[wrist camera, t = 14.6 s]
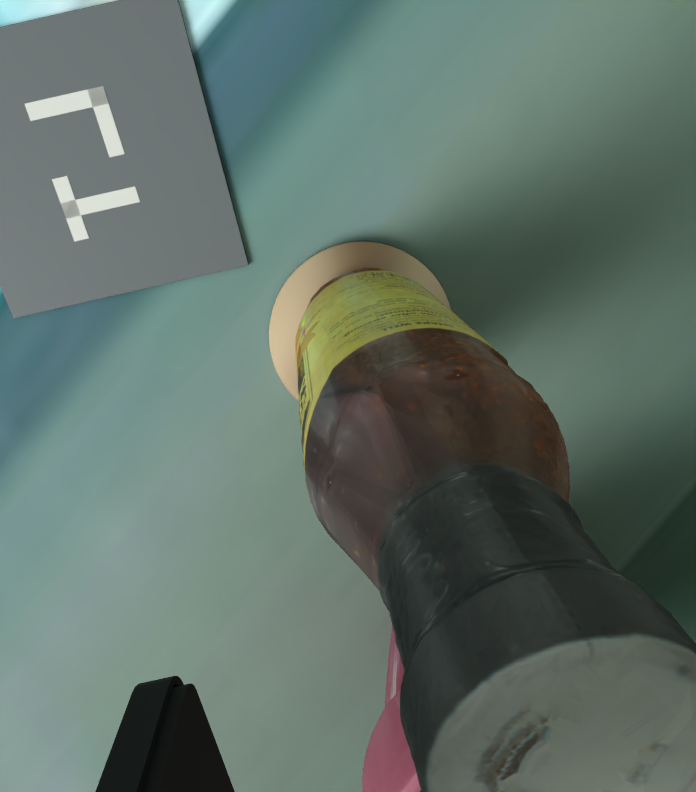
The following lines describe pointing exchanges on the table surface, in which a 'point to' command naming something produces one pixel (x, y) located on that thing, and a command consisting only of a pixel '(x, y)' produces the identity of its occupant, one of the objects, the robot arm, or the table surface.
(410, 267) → the coaster
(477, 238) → the table surface
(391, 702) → the plant pot
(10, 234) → the gray card
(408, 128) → the table surface
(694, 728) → the sauce bottle
